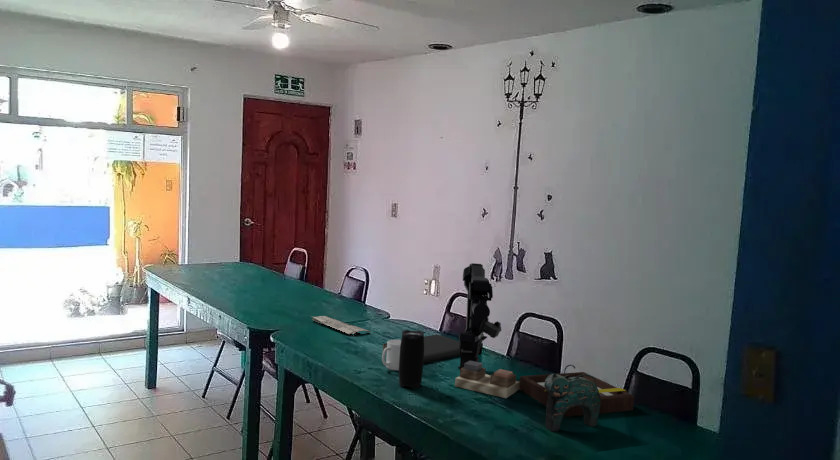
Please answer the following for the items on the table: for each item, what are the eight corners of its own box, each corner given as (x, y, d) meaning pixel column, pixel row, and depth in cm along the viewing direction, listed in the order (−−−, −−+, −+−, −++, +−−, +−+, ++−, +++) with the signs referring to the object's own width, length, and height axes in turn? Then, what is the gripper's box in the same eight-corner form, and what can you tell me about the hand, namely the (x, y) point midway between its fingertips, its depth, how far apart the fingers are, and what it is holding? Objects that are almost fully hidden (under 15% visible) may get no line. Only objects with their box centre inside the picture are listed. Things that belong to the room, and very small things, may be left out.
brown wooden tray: (635, 392, 219) (561, 398, 208) (634, 411, 220) (559, 418, 209) (585, 368, 245) (516, 373, 234) (584, 385, 246) (515, 391, 235)
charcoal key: (463, 371, 236) (464, 363, 236) (469, 368, 240) (470, 360, 240) (476, 374, 233) (476, 366, 233) (481, 371, 238) (482, 363, 237)
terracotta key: (493, 380, 230) (494, 372, 230) (499, 377, 234) (499, 369, 234) (507, 383, 227) (507, 375, 227) (512, 379, 232) (512, 371, 232)
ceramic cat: (548, 433, 194) (553, 368, 192) (536, 426, 200) (541, 362, 198) (602, 427, 202) (607, 364, 200) (588, 419, 208) (593, 358, 206)
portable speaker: (422, 382, 236) (425, 330, 235) (420, 390, 227) (424, 336, 225) (399, 380, 236) (402, 328, 235) (396, 388, 227) (400, 334, 226)
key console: (454, 386, 234) (455, 370, 233) (469, 378, 244) (470, 363, 244) (506, 398, 224) (507, 381, 224) (518, 389, 234) (520, 373, 234)
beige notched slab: (370, 334, 306) (370, 327, 305) (349, 338, 297) (349, 330, 297) (327, 320, 331) (327, 313, 331) (306, 322, 323) (307, 315, 322)
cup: (411, 368, 253) (412, 343, 252) (389, 373, 244) (390, 347, 244) (396, 363, 259) (398, 338, 258) (374, 368, 250) (375, 342, 249)
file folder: (436, 333, 299) (475, 345, 282) (435, 342, 299) (475, 355, 282) (382, 342, 276) (421, 357, 259) (381, 352, 276) (420, 367, 259)
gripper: (488, 321, 223) (485, 366, 224) (508, 313, 239) (505, 354, 241) (459, 316, 228) (456, 359, 229) (480, 308, 244) (477, 349, 246)
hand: (475, 355), depth 236 cm, fingers closed
